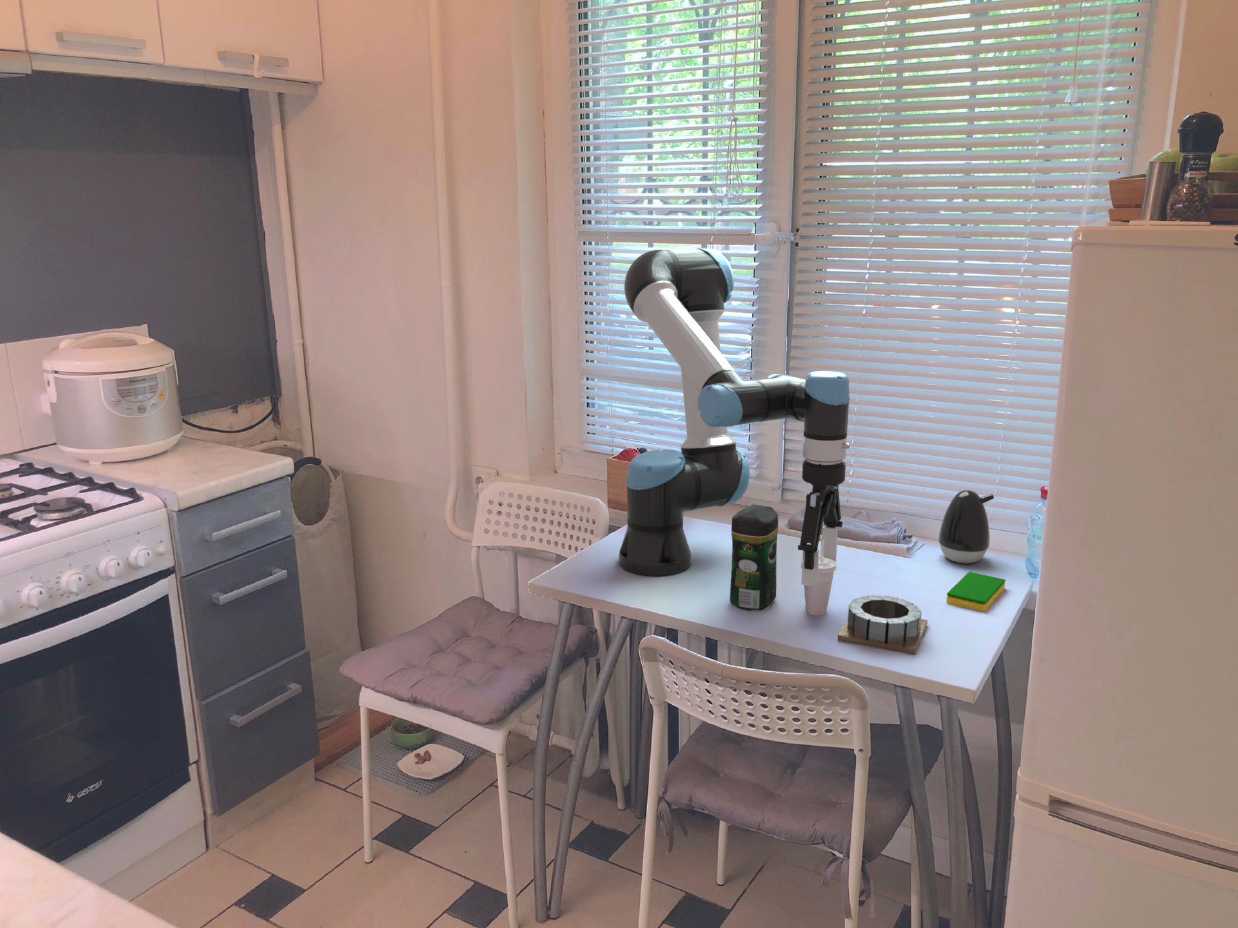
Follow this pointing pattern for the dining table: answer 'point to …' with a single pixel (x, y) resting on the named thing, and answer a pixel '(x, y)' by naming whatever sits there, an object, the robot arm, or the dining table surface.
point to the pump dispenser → (965, 528)
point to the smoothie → (820, 586)
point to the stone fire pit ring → (884, 624)
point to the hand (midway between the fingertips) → (819, 572)
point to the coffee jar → (754, 557)
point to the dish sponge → (975, 591)
